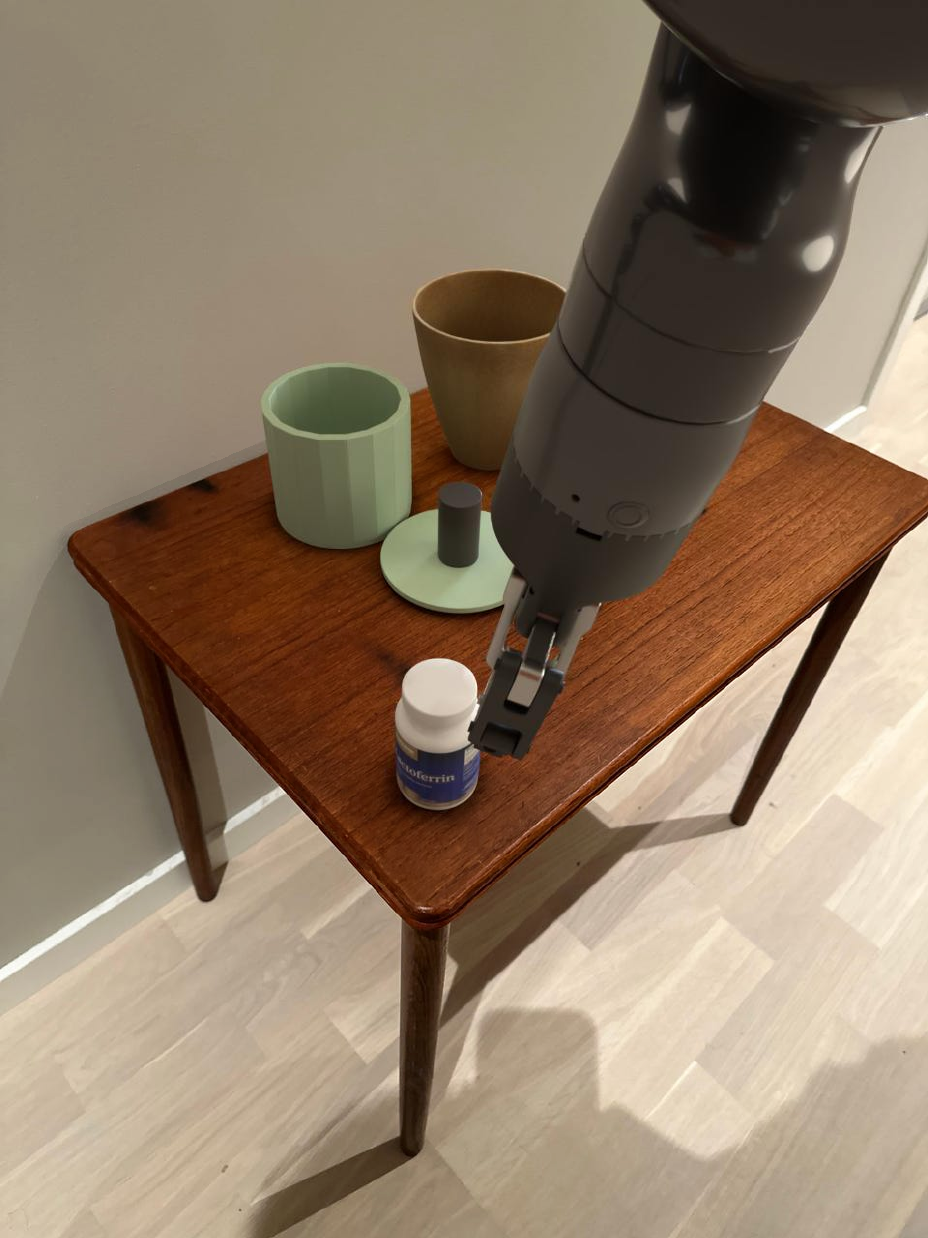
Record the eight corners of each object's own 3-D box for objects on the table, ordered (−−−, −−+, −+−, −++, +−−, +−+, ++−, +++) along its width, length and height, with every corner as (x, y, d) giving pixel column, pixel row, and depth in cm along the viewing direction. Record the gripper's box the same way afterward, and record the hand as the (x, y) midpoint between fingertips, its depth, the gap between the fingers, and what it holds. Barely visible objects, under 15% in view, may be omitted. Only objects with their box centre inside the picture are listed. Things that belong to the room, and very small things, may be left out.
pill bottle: (382, 796, 59) (377, 702, 52) (417, 735, 63) (416, 640, 56) (460, 825, 58) (465, 733, 51) (490, 761, 62) (498, 667, 55)
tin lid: (474, 642, 70) (478, 571, 65) (348, 572, 76) (342, 501, 70) (563, 557, 78) (573, 487, 73) (443, 499, 84) (445, 430, 78)
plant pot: (451, 400, 96) (454, 256, 85) (577, 434, 92) (598, 287, 81) (387, 469, 87) (381, 316, 76) (525, 511, 83) (540, 355, 71)
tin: (350, 568, 76) (341, 458, 68) (248, 512, 81) (228, 403, 73) (438, 501, 83) (439, 394, 75) (339, 453, 89) (331, 348, 80)
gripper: (564, 303, 35) (483, 549, 49) (459, 554, 27) (396, 767, 40) (738, 367, 35) (609, 595, 48) (686, 638, 27) (547, 824, 40)
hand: (512, 673), depth 44 cm, fingers open, 8 cm apart
